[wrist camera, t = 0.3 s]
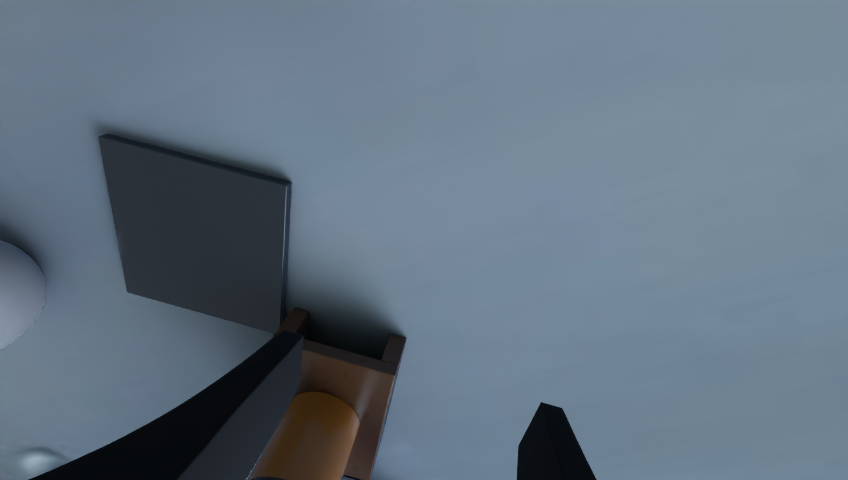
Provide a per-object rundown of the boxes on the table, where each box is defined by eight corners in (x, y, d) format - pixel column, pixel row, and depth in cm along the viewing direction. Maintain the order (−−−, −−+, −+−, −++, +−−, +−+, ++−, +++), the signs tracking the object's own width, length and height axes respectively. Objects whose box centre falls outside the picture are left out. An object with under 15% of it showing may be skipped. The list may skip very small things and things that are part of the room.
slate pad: (284, 329, 26) (279, 335, 25) (134, 286, 26) (126, 292, 26) (292, 181, 21) (287, 185, 21) (107, 133, 21) (97, 136, 21)
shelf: (381, 441, 30) (369, 482, 27) (286, 414, 30) (266, 452, 27) (406, 337, 25) (395, 375, 22) (293, 306, 25) (269, 340, 22)
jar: (356, 452, 26) (319, 563, 20) (285, 431, 26) (230, 536, 21) (366, 402, 23) (327, 513, 18) (288, 380, 24) (227, 484, 18)
